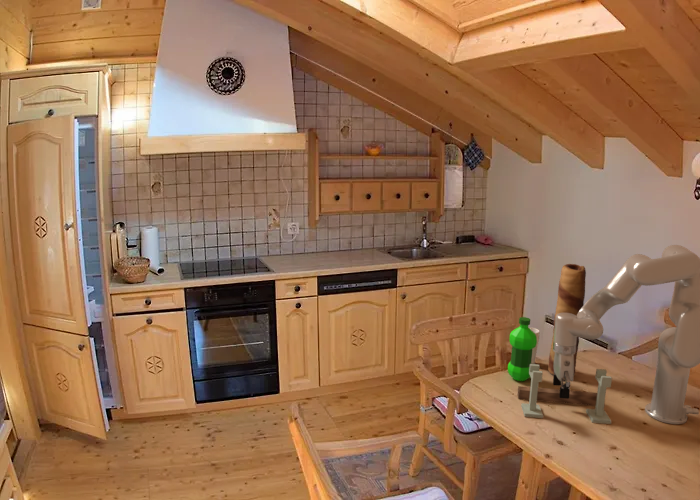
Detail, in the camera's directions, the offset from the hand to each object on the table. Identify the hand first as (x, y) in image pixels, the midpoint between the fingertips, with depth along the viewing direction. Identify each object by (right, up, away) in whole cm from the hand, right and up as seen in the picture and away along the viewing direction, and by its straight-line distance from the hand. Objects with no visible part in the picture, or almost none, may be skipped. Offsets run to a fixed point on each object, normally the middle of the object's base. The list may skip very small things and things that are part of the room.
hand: (560, 391), depth 189 cm
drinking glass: (-1, +3, +32) cm, 32 cm away
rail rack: (-2, -6, -9) cm, 11 cm away
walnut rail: (-1, -4, +1) cm, 4 cm away
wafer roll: (+10, +1, +23) cm, 25 cm away
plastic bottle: (-9, 0, +18) cm, 20 cm away
